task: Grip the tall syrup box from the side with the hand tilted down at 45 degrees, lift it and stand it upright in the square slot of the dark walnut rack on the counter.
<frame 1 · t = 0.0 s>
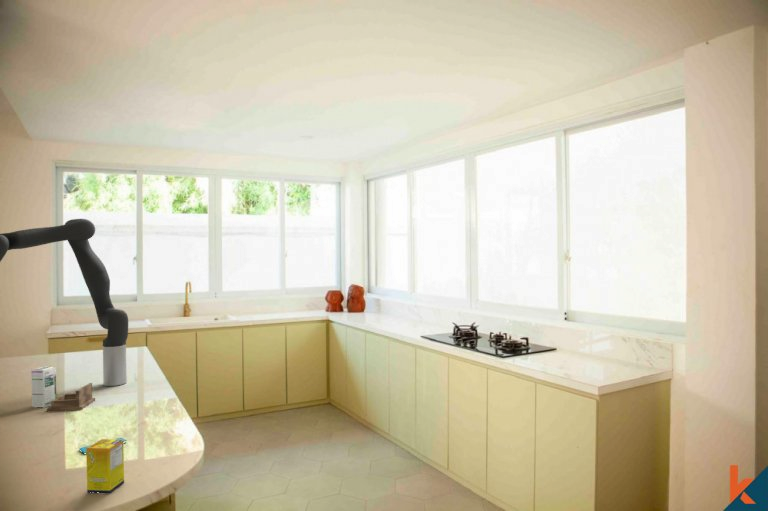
sponge: (104, 449, 151), on the table
syrup box: (44, 406, 195), on the table
walnut rack: (71, 405, 194), on the table
supplement box: (105, 489, 124), on the table
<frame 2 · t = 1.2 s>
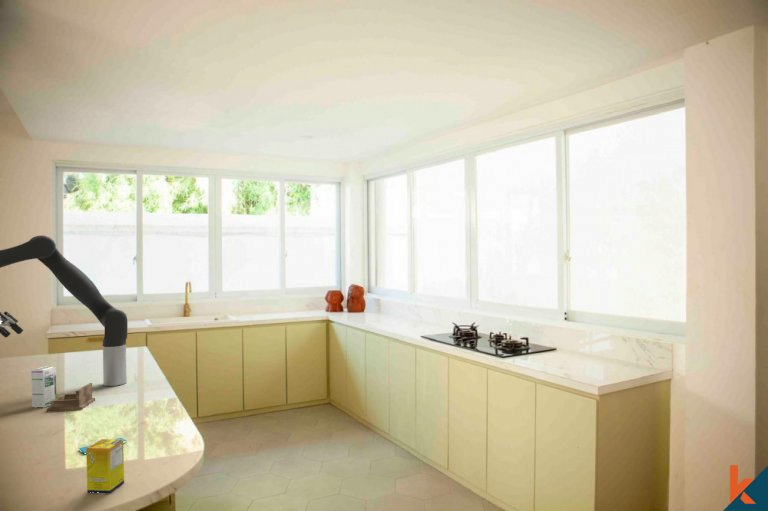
hand: (15, 334, 194), 28 cm above the table, tool tilted 45°, fingers open, 8 cm apart
nothing on the table moved.
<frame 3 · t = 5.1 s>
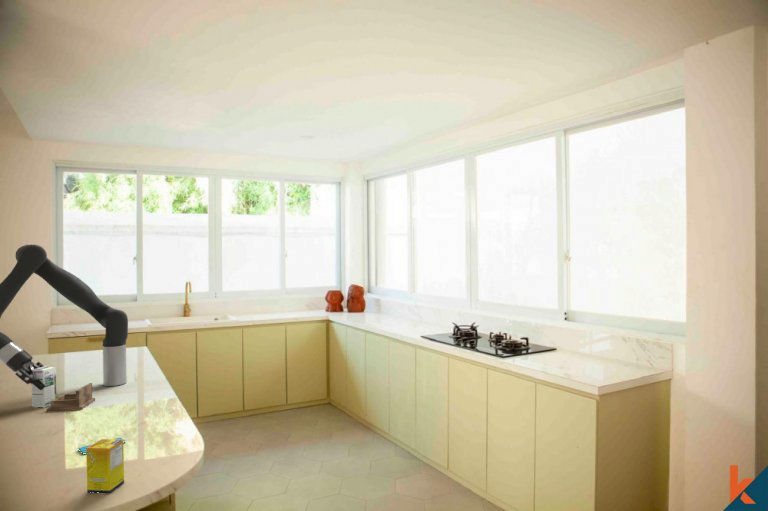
hand: (48, 385, 196), 8 cm above the table, tool tilted 45°, fingers closed on syrup box, 7 cm apart
syrup box: (44, 405, 195), on the table, touching gripper
everything else where it was.
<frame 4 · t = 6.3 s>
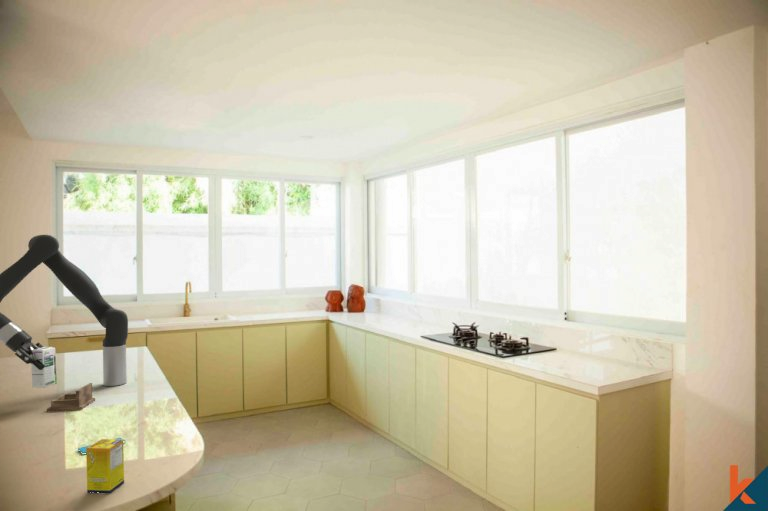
hand: (48, 365, 196), 15 cm above the table, tool tilted 45°, fingers closed on syrup box, 7 cm apart
syrup box: (44, 386, 195), point 7 cm above the table, touching gripper
everything else where it was.
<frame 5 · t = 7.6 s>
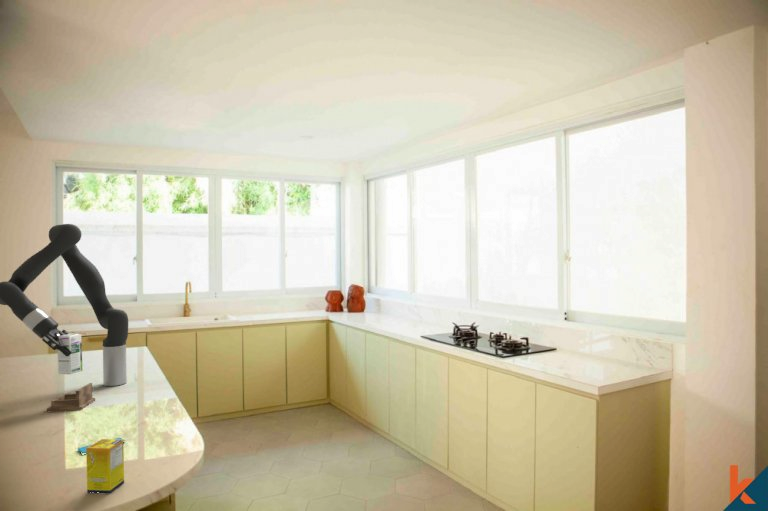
hand: (74, 352, 194), 20 cm above the table, tool tilted 45°, fingers closed on syrup box, 7 cm apart
syrup box: (70, 373, 194), point 12 cm above the table, touching gripper
everything else where it was.
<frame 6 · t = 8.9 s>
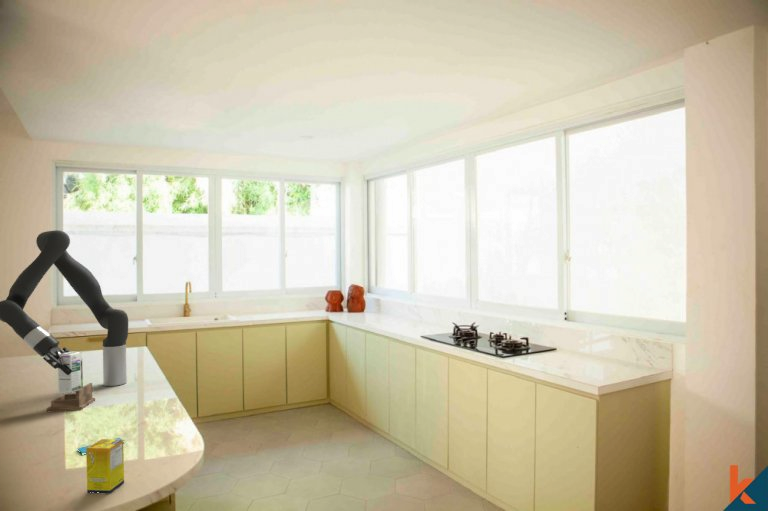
hand: (75, 370, 194), 13 cm above the table, tool tilted 45°, fingers closed on syrup box, 7 cm apart
syrup box: (70, 391, 194), point 6 cm above the table, touching gripper
everything else where it was.
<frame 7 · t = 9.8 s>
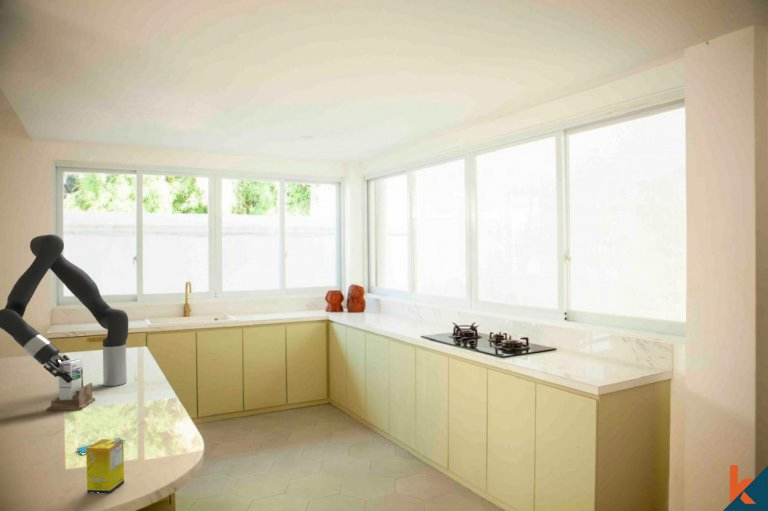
hand: (75, 378, 194), 10 cm above the table, tool tilted 45°, fingers closed on syrup box, 7 cm apart
syrup box: (71, 399, 194), point 3 cm above the table, touching gripper
everything else where it was.
when the fingers open (10 cm above the table, at t = 10.1 s): syrup box drops 2 cm, resting on walnut rack.
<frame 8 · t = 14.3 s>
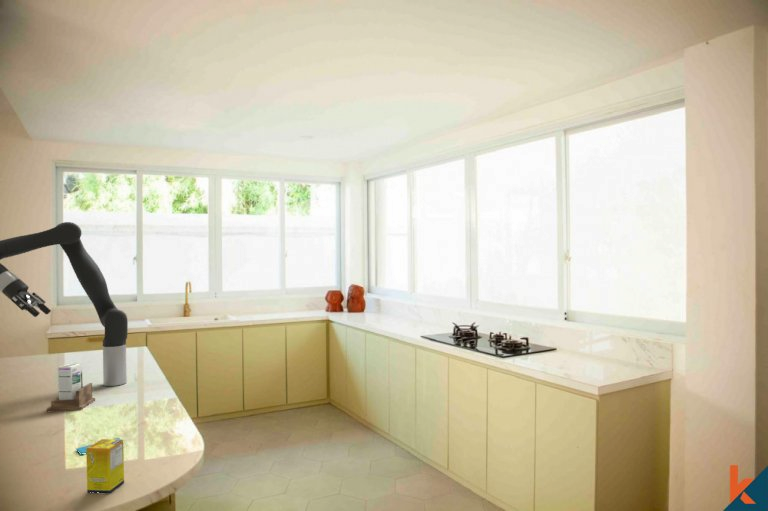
hand: (43, 314, 199), 35 cm above the table, tool tilted 45°, fingers open, 8 cm apart
syrup box: (71, 403, 194), point 1 cm above the table, touching walnut rack
everything else where it was.
at the end: syrup box 0.3 cm off-centre on the walnut rack, point 1.0 cm above the walnut rack's base; syrup box tilted 0°; the gripper is holding nothing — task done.
